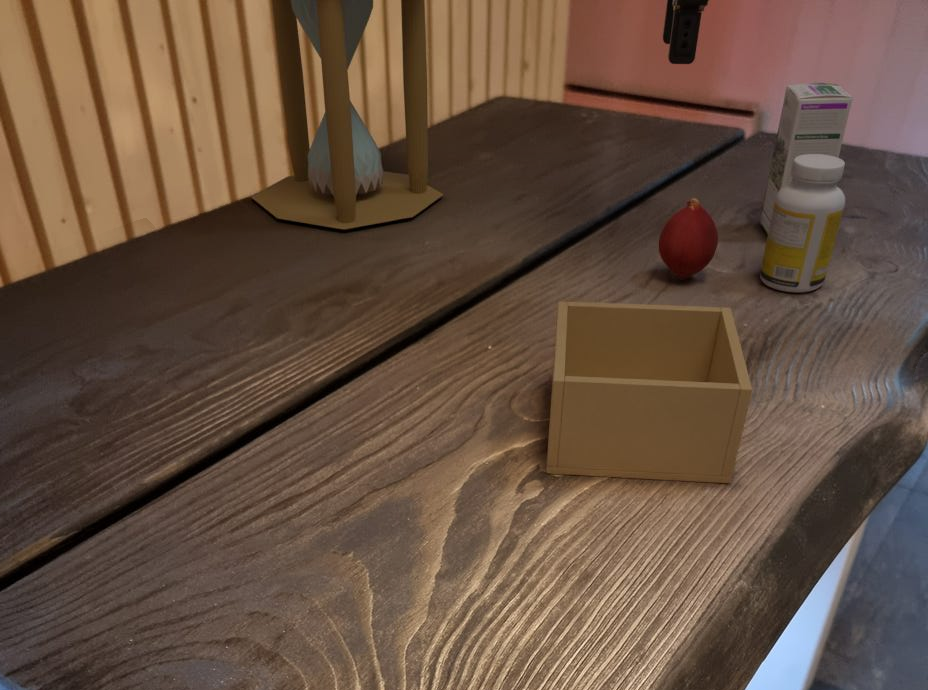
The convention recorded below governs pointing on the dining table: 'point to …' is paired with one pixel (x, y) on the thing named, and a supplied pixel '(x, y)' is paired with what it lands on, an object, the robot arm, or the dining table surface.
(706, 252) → the onion
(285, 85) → the hourglass
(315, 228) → the dining table surface
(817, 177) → the pill bottle
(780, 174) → the syrup box
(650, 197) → the dining table surface
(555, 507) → the dining table surface
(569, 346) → the open wooden box
